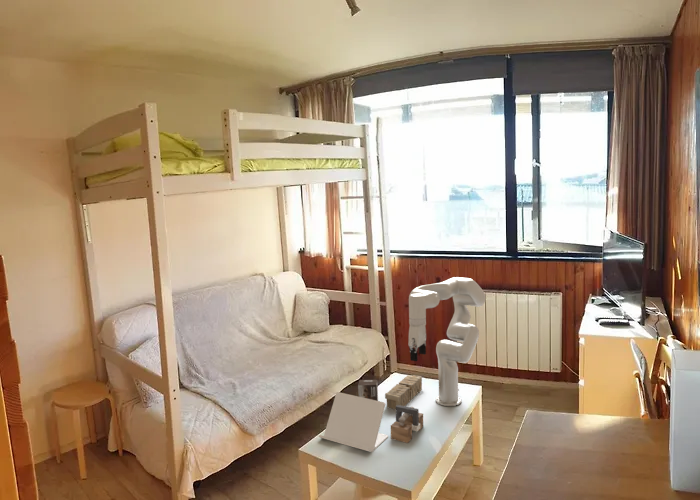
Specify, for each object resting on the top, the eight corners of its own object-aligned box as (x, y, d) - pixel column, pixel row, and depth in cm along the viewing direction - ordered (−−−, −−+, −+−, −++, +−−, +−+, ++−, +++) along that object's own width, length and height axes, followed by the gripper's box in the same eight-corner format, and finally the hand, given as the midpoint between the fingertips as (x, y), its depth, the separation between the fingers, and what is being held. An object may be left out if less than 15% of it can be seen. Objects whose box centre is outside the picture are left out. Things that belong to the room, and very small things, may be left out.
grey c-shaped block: (397, 422, 236) (397, 403, 235) (420, 427, 231) (420, 408, 229) (394, 426, 233) (394, 407, 232) (417, 431, 227) (416, 411, 226)
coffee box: (378, 411, 254) (377, 379, 252) (378, 417, 248) (377, 384, 246) (360, 411, 255) (359, 379, 253) (359, 417, 249) (357, 384, 247)
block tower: (408, 389, 282) (384, 409, 257) (408, 374, 281) (384, 392, 256) (422, 391, 278) (399, 412, 253) (422, 376, 277) (398, 395, 252)
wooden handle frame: (407, 422, 241) (406, 403, 240) (423, 426, 237) (423, 406, 236) (390, 438, 227) (390, 418, 226) (407, 443, 223) (407, 421, 221)
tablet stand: (341, 424, 242) (339, 389, 240) (388, 437, 229) (387, 400, 227) (318, 441, 227) (316, 404, 225) (368, 456, 214) (366, 416, 212)
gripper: (417, 315, 246) (418, 350, 249) (401, 325, 232) (402, 362, 234) (432, 317, 242) (433, 352, 245) (417, 326, 228) (418, 364, 230)
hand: (418, 357), depth 239 cm, fingers open, 9 cm apart
